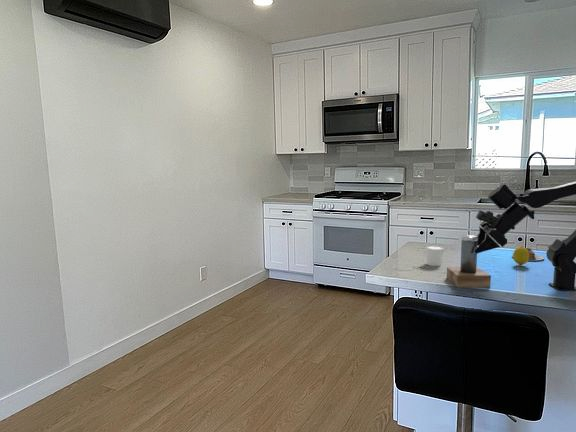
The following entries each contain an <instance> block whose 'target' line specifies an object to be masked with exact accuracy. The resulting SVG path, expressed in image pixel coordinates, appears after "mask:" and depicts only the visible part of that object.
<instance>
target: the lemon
mask: <svg viewBox="0 0 576 432" xmlns="http://www.w3.org/2000/svg"><path fill="white" fill-rule="evenodd" d="M526 248H527V247H524V246H522V245H521V246H519V247H516V248H515V250H514V251H513V253H512V255H513V256H512V257H513V260H514V263H516V264H518V265H519V266H520V267H522V266H523V265H526V263H528V262H529V261H528V260H529V252H528V250H527V249H526Z"/></svg>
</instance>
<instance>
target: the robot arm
mask: <svg viewBox="0 0 576 432" xmlns="http://www.w3.org/2000/svg"><path fill="white" fill-rule="evenodd" d="M575 195H576V180H575V181H573V182H568V183H565V184H560V185H557V186H551V187H543V188H541V187H539V188H532V189H531V188H529V189H527V190H525V191H524V192H522V193H514V192H513V191H512V190H511V189H510V188H509V186H508V185H506V184H505V183H503V184H502V185H500V186H498V187H497V188H495V189H493V190H492V191H490V193H489V194H488V195H487V199H489V200H490V201H491V202H492V203H493V205H495V206H496V207H497V208H498V209H500V210H502V209H504V210H505V211H503V212H502V213H501V214H500V213H498V214H497V215H494V213H493V212H492V211H490V210H487V211H485V210H482V209H479V210H478V212H477V214H476V216H475V219H477V220H478V221H482V222H481V223H480V224H479V226H478V228H479V229H478V230H479V232H478V234H477V235H476V236H477V237H478V247H477V249H476V250H475V253H477V254H480V253H484V252H488V251H491V250H494V249H498V248H501V247H502V248H503V247H505V246H506V245H507V244H508V239H507V237H506V235H507V234H508V233H509V232H510V231H511V230H513V231H514V230H515V229H516V226H517V225H518V224H519V223H521V222H522V221H523V220H524V219H525V218H526V217H529V219H531V220H534V219H535V211H534V210H530V209H529V208H528V207H530V208H532V209H539V208H542V207H545V206H546V205H550V204H551V203H553V202H554V201H556V200H559V199H563V198H567V197H572V196H575ZM518 202H519V203H522V204H521V205H520V204H519V203H518ZM527 206H528V207H527ZM545 254H546V258H547V260H548V261H549V262H550V263H551V264H552V266H553V267H554V268H553V269H554V270H553V281H552V282H549V283H548V285H549V286H551V287H553V288H555V289H556V290H559V291H576V285H575V284H576V262H575V261H574V260H575V259H576V229H575V230H574V231H572V233H571V234H570V235H569V236H568V237H567V238H565V239H562V240H561V239H558V238H556V239H555V240H554V242H553V243H552V244H551V245H549V246H547V250H546V253H545Z"/></svg>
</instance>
